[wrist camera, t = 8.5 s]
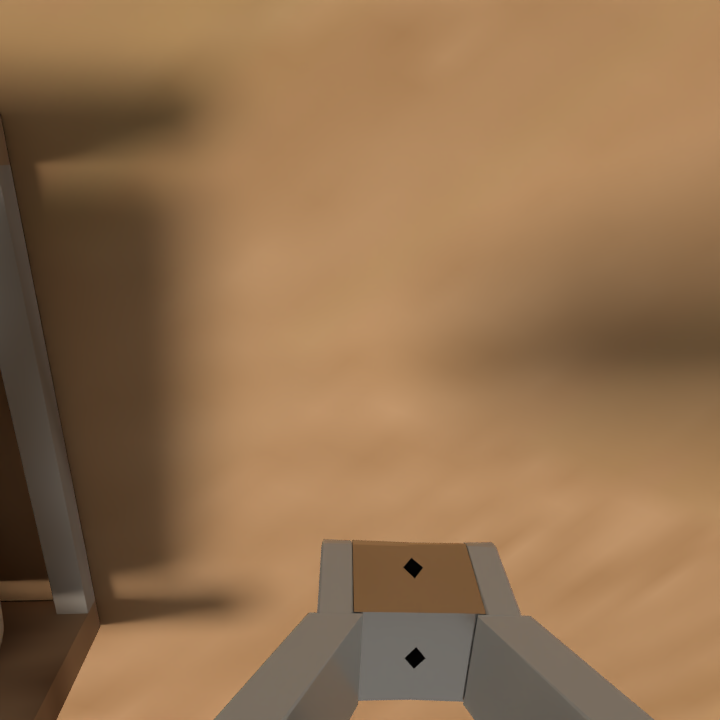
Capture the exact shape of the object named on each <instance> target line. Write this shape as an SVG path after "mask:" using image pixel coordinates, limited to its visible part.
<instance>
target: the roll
mask: <svg viewBox="0 0 720 720" xmlns="http://www.w3.org/2000/svg"><path fill="white" fill-rule="evenodd" d="M3 632H4V625H3V615H2V609H1V603H0V646H1V643H2V638H3Z"/></svg>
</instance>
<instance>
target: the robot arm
mask: <svg viewBox="0 0 720 720" xmlns="http://www.w3.org/2000/svg"><path fill="white" fill-rule="evenodd" d="M410 699H411V700H435V701H461V702H464V703H463V705H464V706H465V707H466V709H467V710H468V711H469V713H470V714H471V715H472V717H473V718H474V720H654V719H653V718H651V717H650V716H649V715H648V714H647V713H646V712H644V711H643V710H642V709H641V708H640V707H638V706H637V705H636V704H635V703H634V702H632V701H631V700H630V699H629V698H628V697H626V696H625V695H624V694H623V693H622V692H620V691H619V690H618V689H617V688H616V687H615V686H613V685H612V684H611V683H610V682H609V681H607V680H606V679H605V678H604V677H603V676H601V675H600V674H599V673H598V672H597V671H595V670H594V669H593V668H592V667H591V666H590V665H588V664H587V663H586V662H585V661H584V660H582V659H581V658H580V657H579V656H578V655H576V654H575V653H574V652H573V651H572V650H570V649H569V648H568V647H567V646H566V645H564V644H563V643H562V642H561V641H560V640H559V639H557V638H556V637H555V636H554V635H553V634H551V633H550V632H549V631H548V630H547V629H545V628H544V627H543V626H542V625H541V624H539V623H538V622H537V621H536V620H535V619H534V618H532V617H531V616H522V615H521V613H520V610H519V607H518V605H517V602H516V599H515V596H514V594H513V591H512V588H511V586H510V583H509V580H508V578H507V575H506V572H505V570H504V567H503V564H502V562H501V559H500V556H499V554H498V551H497V548H496V546H495V545H494V544H493V543H492V542H481V543H409V542H388V541H364V540H352V542H351V540H329V539H323V542H322V547H321V563H320V579H319V594H318V610H317V613H308V614H307V615H306V616H305V617H304V618H303V619H302V621H301V622H300V623H299V624H298V625H297V626H296V627H295V628H294V630H293V631H292V632H291V633H290V634H289V635H288V636H287V638H286V639H285V640H284V641H283V642H282V643H281V644H280V645H279V647H278V648H277V649H276V650H275V651H274V652H273V653H272V654H271V656H270V657H269V658H268V659H267V660H266V661H265V662H264V663H263V665H262V666H261V667H260V668H259V669H258V670H257V671H256V672H255V674H254V675H253V676H252V677H251V678H250V679H249V680H248V682H247V683H246V684H245V685H244V686H243V687H242V688H241V689H240V691H239V692H238V693H237V694H236V695H235V696H234V697H233V698H232V700H231V701H230V702H229V703H228V704H227V705H226V706H225V707H224V709H223V710H222V711H221V712H220V713H219V714H218V715H217V716H216V718H215V719H214V720H349V719H350V718H351V716H352V714H353V712H354V710H355V709H356V707H357V705H358V701H363V700H410Z"/></svg>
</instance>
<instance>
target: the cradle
mask: <svg viewBox="0 0 720 720" xmlns="http://www.w3.org/2000/svg"><path fill="white" fill-rule="evenodd" d="M0 369H1V374H2V378H3V382H4V387H5V391H6V396H7V400H8V404H9V409H10V413H11V417H12V422H13V426H14V430H15V435H16V439H17V443H18V448H19V452H20V456H21V461H22V465H23V469H24V474H25V478H26V482H27V487H28V491H29V495H30V500H31V504H32V508H33V513H34V517H35V521H36V526H37V530H38V534H39V539H40V543H41V547H42V552H43V556H44V560H45V565H46V569H47V573H48V578H49V582H50V586H51V591H52V595H53V599H54V601H25V602H0V603H1V609H2V615H3V625H4V632H3V638H2V643H1V646H0V720H56V719H57V717H58V715H59V713H60V711H61V709H62V707H63V705H64V702H65V700H66V698H67V696H68V694H69V692H70V690H71V688H72V685H73V683H74V681H75V679H76V677H77V675H78V673H79V671H80V669H81V666H82V664H83V662H84V660H85V658H86V656H87V654H88V652H89V649H90V647H91V645H92V643H93V641H94V639H95V637H96V635H97V632H98V630H99V628H100V622H99V616H98V611H97V606H96V601H95V596H94V591H93V586H92V581H91V576H90V570H89V565H88V560H87V555H86V550H85V545H84V540H83V535H82V530H81V525H80V519H79V514H78V509H77V504H76V499H75V494H74V489H73V484H72V479H71V473H70V468H69V463H68V458H67V453H66V448H65V443H64V438H63V433H62V427H61V422H60V417H59V412H58V407H57V402H56V397H55V392H54V387H53V382H52V376H51V371H50V366H49V361H48V356H47V351H46V346H45V341H44V336H43V330H42V325H41V320H40V315H39V310H38V305H37V300H36V295H35V290H34V284H33V279H32V274H31V269H30V264H29V259H28V254H27V249H26V244H25V239H24V233H23V228H22V223H21V218H20V213H19V208H18V203H17V198H16V193H15V187H14V182H13V177H12V172H11V167H10V162H9V157H8V152H7V147H6V141H5V136H4V131H3V126H2V121H1V116H0Z"/></svg>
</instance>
